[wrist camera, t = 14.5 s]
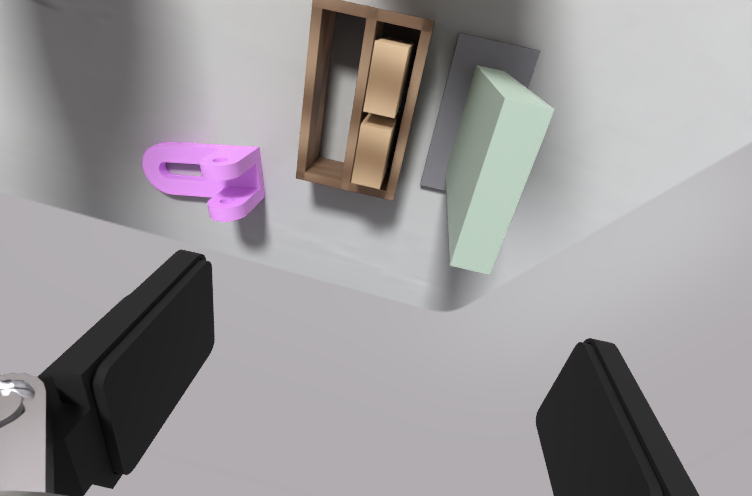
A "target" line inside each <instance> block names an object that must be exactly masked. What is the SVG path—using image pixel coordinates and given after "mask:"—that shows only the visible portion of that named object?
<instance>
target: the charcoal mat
mask: <svg viewBox="0 0 752 496" xmlns="http://www.w3.org/2000/svg"><path fill="white" fill-rule="evenodd" d="M539 54H540V51H539V50H534V49H530V48H525V47H521V46H516V45H512V44H507V43H502V42H498V41H493V40H489V39H484V38H480V37H475V36H471V35H466V34H461V33H459V36H458V40H457V44H456V48H455V52H454V56H453V59H452V63H451V67H450V71H449V75H448V79H447V83H446V86H445V90H444V94H443V98H442V102H441V106H440V110H439V113H438V117H437V121H436V125H435V129H434V133H433V137H432V141H431V144H430V148H429V152H428V156H427V160H426V164H425V168H424V171H423V175H422V179H421V183H420V185H422V186H427V187H431V188H435V189H440V190H444V191H446V169H447V166H448V162H449V159H450V155H451V152H452V148H453V145H454V141H455V138H456V134H457V131H458V127H459V124H460V120H461V117H462V113H463V110H464V106H465V103H466V99H467V96H468V92H469V89H470V85H471V82H472V78H473V75H474V71H475V68H476V65H479V66H483V67H488V68H492V69H497V70H502V71H505V72H506V73H507V74H509V75H510V76H511V77H513V78H514V79H515V80H517V81H518V82H519V83H521V84H522V85H523V86H525V87H526V88H527V87H528V85H529V82H530V79H531V76H532V73H533V70H534V68H535V65H536V62H537V59H538V56H539Z"/></svg>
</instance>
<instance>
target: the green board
mask: <svg viewBox="0 0 752 496" xmlns="http://www.w3.org/2000/svg"><path fill="white" fill-rule="evenodd" d="M554 110H555V109H554V108H552V107H551V106H550V105H548V104H547V103H546V102H544V101H543V100H542V99H540V98H539V97H538V96H537V95H535V94H534V93H533V92H531V91H530V90H529V89H527V88H526V87H525V86H523V85H522V84H521V83H519V82H518V81H517V80H515V79H514V78H513V77H511V76H510V75H509V74H507V73H506V72H505V71H502V70H497V69H492V68H488V67H483V66H479V65H476V68H475V71H474V75H473V78H472V82H471V85H470V89H469V92H468V96H467V99H466V103H465V106H464V110H463V113H462V117H461V120H460V124H459V127H458V131H457V134H456V138H455V141H454V145H453V148H452V152H451V155H450V159H449V162H448V166H447V169H446V191H447V213H448V236H449V258H450V266H454V267H458V268H462V269H467V270H471V271H475V272H480V273H484V274H488V275H490V273H491V270H492V268H493V265H494V262H495V260H496V257H497V255H498V252H499V250H500V247H501V245H502V242H503V240H504V237H505V235H506V232H507V229H508V227H509V224H510V222H511V219H512V217H513V214H514V212H515V209H516V207H517V204H518V202H519V199H520V196H521V194H522V191H523V189H524V186H525V184H526V181H527V179H528V176H529V174H530V171H531V169H532V166H533V163H534V161H535V158H536V156H537V153H538V151H539V148H540V146H541V143H542V141H543V138H544V136H545V133H546V130H547V128H548V125H549V123H550V120H551V118H552V115H553V113H554Z"/></svg>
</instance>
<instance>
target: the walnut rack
mask: <svg viewBox="0 0 752 496" xmlns="http://www.w3.org/2000/svg"><path fill="white" fill-rule="evenodd" d="M336 12H340V13H345V14H350V15H354V16H359V17H363V18H366V25H365V31H364V38H363V44H362V51H361V57H360V64H359V70H358V77H357V83H356V90H355V96H354V103H353V109H352V116H351V122H350V129H349V135H348V142H347V148H346V155H345V161H344V163H343V162H339V161H334V160H330V159H326V158H321V157H319V150H320V142H321V134H322V125H323V117H324V109H325V100H326V92H327V84H328V76H329V67H330V59H331V51H332V42H333V34H334V26H335V18H336ZM384 22H386V23H391V24H395V25H400V26H404V27H409V28H413V29H418V30H421V34H420V39H419V43H418V48H417V52H416V57H415V62H414V66H413V71H412V76H411V80H410V85H409V89H408V94H407V99H406V103H405V108H404V113H403V117H402V122H401V126H400V131H399V136H398V140H397V145H396V150H395V154H394V159H393V163H392V168H391V173H387V172H386V173H385V176H384V178H383V181H382V184H381V187H380V189H376V188H372V187H368V186H363V185H359V184H355V183H351V180H352V174H353V168H354V162H355V156H356V150H357V144H358V138H359V132H360V126H361V123H362V122H363V121H364V119H365V118H366V117H367V115H368V112H364V111H363V109H364V103H365V97H366V91H367V85H368V79H369V73H370V67H371V61H372V55H373V49H374V43H375V40H379V39H381V37H382V31H383V25H384ZM434 22H435V21H433V20H429V19H424V18H420V17H415V16H410V15H406V14H401V13H397V12H392V11H388V10H383V9H378V8H374V7H369V6H365V5H360V4H356V3H351V2H346V1H342V0H313V2H312V13H311V24H310V34H309V45H308V55H307V66H306V77H305V87H304V98H303V108H302V119H301V130H300V140H299V151H298V161H297V172H296V179H301V180H305V181H309V182H314V183H318V184H322V185H327V186H331V187H336V188H340V189H344V190H349V191H353V192H357V193H362V194H366V195H370V196H375V197H379V198H383V199H388V200H392V201H393V199H394V195H395V192H396V188H397V184H398V180H399V175H400V171H401V166H402V162H403V158H404V153H405V149H406V145H407V140H408V136H409V131H410V127H411V123H412V118H413V114H414V110H415V105H416V101H417V97H418V92H419V88H420V83H421V79H422V75H423V70H424V66H425V62H426V57H427V53H428V48H429V44H430V40H431V35H432V31H433V27H434Z"/></svg>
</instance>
